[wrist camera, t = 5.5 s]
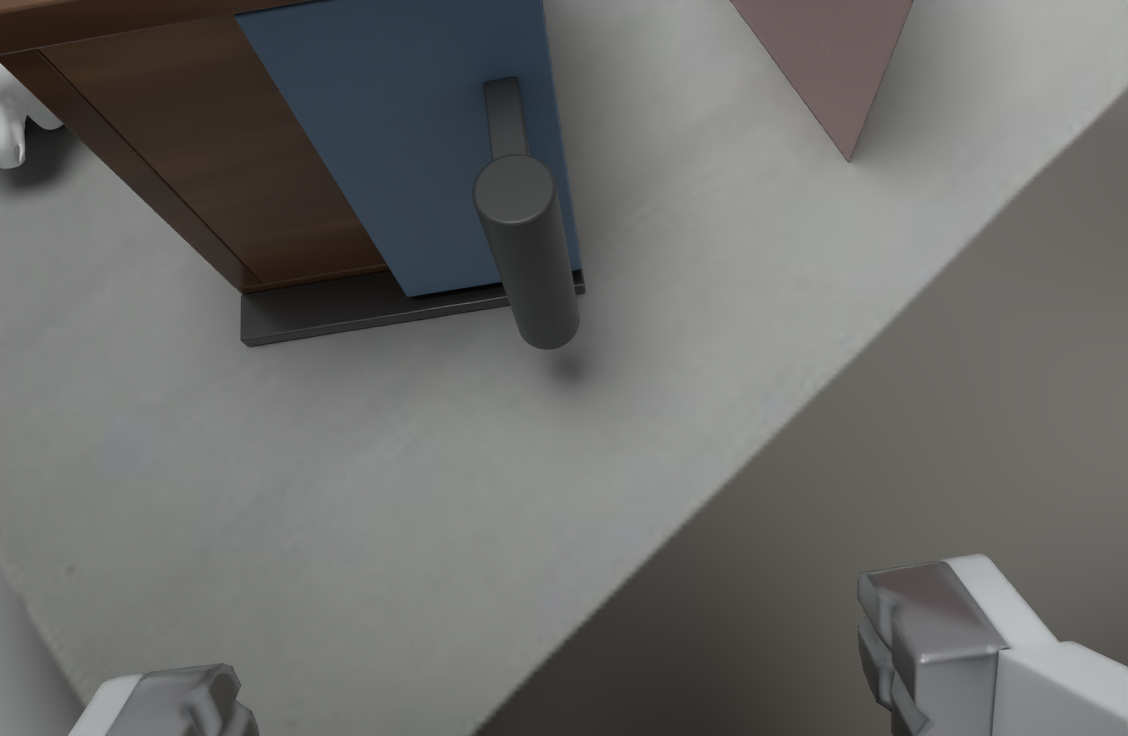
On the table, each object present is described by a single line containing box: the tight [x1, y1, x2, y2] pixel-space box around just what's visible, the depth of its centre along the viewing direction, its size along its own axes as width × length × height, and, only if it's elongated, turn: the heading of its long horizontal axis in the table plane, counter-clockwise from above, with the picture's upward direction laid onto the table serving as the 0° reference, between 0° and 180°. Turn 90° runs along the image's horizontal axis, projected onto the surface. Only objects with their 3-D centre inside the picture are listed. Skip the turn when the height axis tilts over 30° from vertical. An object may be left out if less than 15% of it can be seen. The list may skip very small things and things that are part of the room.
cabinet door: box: [234, 0, 582, 350], centre depth 21 cm, size 5×6×13 cm
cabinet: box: [0, 0, 585, 346], centre depth 24 cm, size 14×12×15 cm
